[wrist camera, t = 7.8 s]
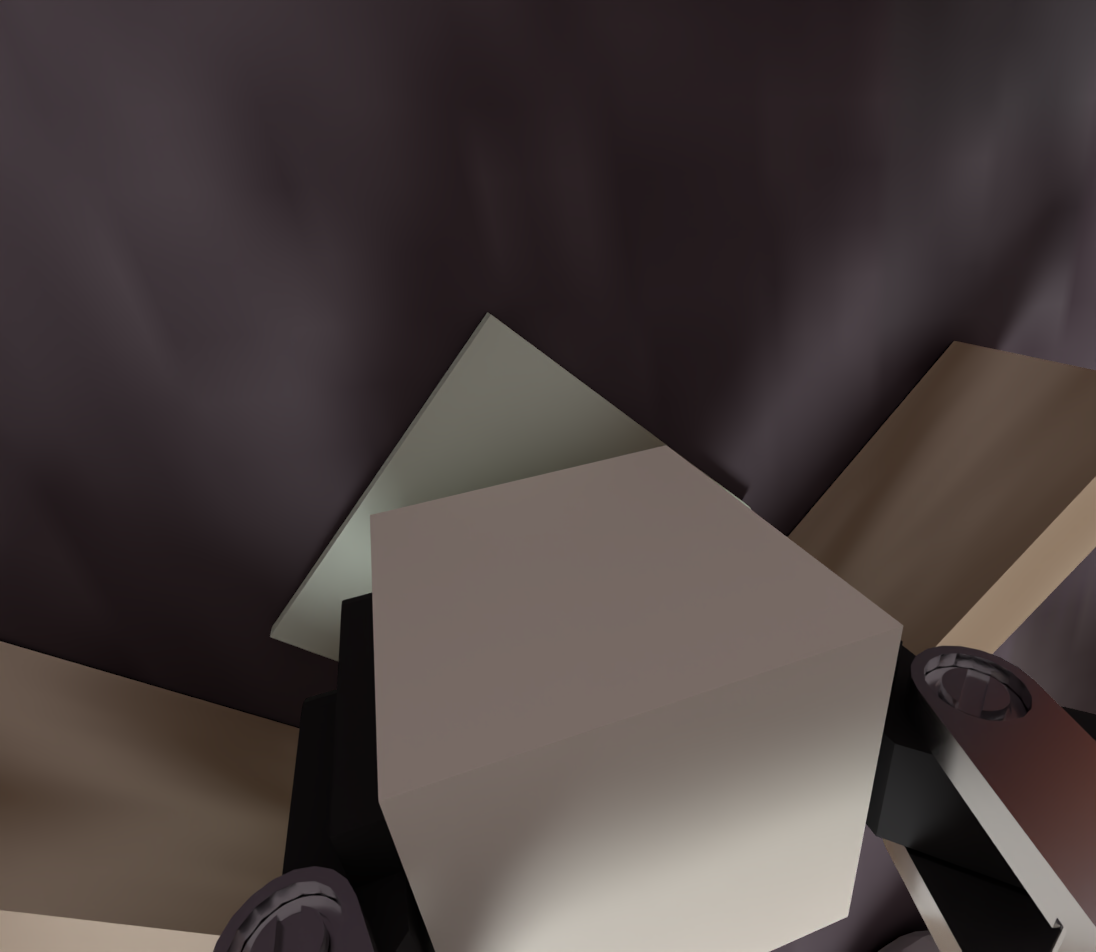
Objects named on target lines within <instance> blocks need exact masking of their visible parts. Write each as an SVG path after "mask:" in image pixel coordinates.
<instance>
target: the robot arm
mask: <svg viewBox="0 0 1096 952" xmlns="http://www.w3.org/2000/svg"><path fill="white" fill-rule="evenodd" d="M902 643H903V641H902V640H901V641H900V646H899V651H898V656H897V662H896V667H895V672H894V677H893V682H892V688H891V693H890V698H889V703H888V709H887V714H886V719H885V724H884V730H883V735H882V740H881V745H880V751H879V756H878V761H877V766H876V771H875V777H874V782H873V787H872V792H871V798H870V803H869V808H868V813H867V819H866V824H867V825H868V827H869V828H870V829H871V830H872V831H873V833H874V834H875V835H876V836H878V837H880V838H882V839H883V842H884V844H885V847H886V849H887V851H888V853H889V854H890V856H891V858H892V860H893V862H894V864H895V866H896V868H897V870H898V872H899V874H900V876H901V878H902V879H903V881H904V883H905V885H906V887H907V889H908V891H909V893H910V895H911V897H912V899H913V901H914V903H915V904H916V906H917V908H918V910H919V912H920V914H921V916H922V918H923V920H924V922H925V924H926V926H927V928H928V929H929V931H930V933H931V935H932V937H933V939H934V941H935V943H936V945H937V947H938V949H939V951H940V952H1096V715H1095V714H1091V713H1087V712H1083V711H1079V710H1074V709H1070V708H1066V707H1062V706H1060V705H1059V704H1058V703H1057V702H1056V701H1055V700H1054V699H1053V698H1052V697H1051V696H1050V695H1049V694H1048V693H1047V692H1046V691H1045V690H1044V689H1043V688H1042V687H1041V686H1040V685H1039V684H1038V683H1037V682H1036V681H1035V680H1034V679H1033V678H1031V677H1030V676H1029V675H1028V674H1026V673H1025V672H1024V671H1023V670H1021V669H1020V668H1019V667H1017V666H1015V665H1014V664H1012V663H1010V662H1008V661H1006V660H1004V659H1003V658H1001V657H998V656H996V655H993V654H990V653H987V652H985V651H982V650H978V649H973V648H968V647H963V646H938V647H933V648H929V649H926V650H924V651H923V652H921V653H919V654H918V655H916V656H915V655H914V654H913V653H912V652H910V651H909V650H908V649H907V648H905V647H904V646H903V645H902ZM213 952H435V950H434V947H433V944H432V942H431V939H430V936H429V934H428V931H427V928H426V926H425V923H424V921H423V918H422V915H421V913H420V910H419V907H418V905H417V902H416V899H415V897H414V894H413V891H412V889H411V886H410V883H409V881H408V878H407V876H406V873H405V870H404V868H403V865H402V862H401V860H400V857H399V854H398V852H397V849H396V846H395V844H394V841H393V838H392V836H391V833H390V831H389V828H388V825H387V823H386V820H385V817H384V815H383V812H382V809H381V807H380V804H379V801H378V770H377V736H376V703H375V669H374V635H373V601H372V593H368V594H364V595H361V596H357V597H353V598H349V599H345V600H343V601H342V604H341V622H340V642H339V662H338V682H337V690H333V691H330V692H327V693H323V694H320V695H316V696H313V697H309V698H306V700H305V701H304V703H303V707H302V712H301V721H300V729H299V738H298V746H297V754H296V763H295V771H294V779H293V788H292V796H291V804H290V813H289V821H288V829H287V838H286V846H285V854H284V863H283V871H282V876H280V877H277V878H275V879H273V880H272V881H270V882H269V883H268V884H266V885H265V886H264V887H262V888H261V889H260V890H258V891H257V892H256V893H254V894H253V895H252V896H251V897H250V898H249V899H248V900H247V901H246V902H245V903H244V904H243V905H242V906H241V908H240V909H239V910H238V911H237V912H236V913H235V914H234V915H233V916H232V918H231V919H230V921H229V922H228V924H227V926H226V927H225V929H224V931H223V932H222V934H221V935H220V937H219V939H218V940H217V942H216V945H215V947H214V950H213Z"/></svg>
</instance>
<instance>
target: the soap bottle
mask: <svg viewBox="0 0 1096 952" xmlns="http://www.w3.org/2000/svg"><path fill="white" fill-rule="evenodd" d="M878 952H940V951H939V949H938V947H937V945H936V943H935V941H934V939H933V937H932V935H931V933H930V931H929V930H927V931H915V932H912V933H909V934H906V935H903V936H901V937H899V938H897V939H896V940H894V941H893V942H891V943H890V944H888V945H887V946H885V947H883V948H882V949H880V950H879V951H878Z"/></svg>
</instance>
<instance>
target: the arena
mask: <svg viewBox="0 0 1096 952" xmlns="http://www.w3.org/2000/svg"><path fill="white" fill-rule="evenodd" d="M665 445H666V444H665V443H663V442H662V441H661V440H659V439H658V438H657V437H655V436H654V435H653V434H651V433H650V432H648V431H647V430H646V429H644V428H643V427H642V426H640V425H639V424H638V423H636V422H635V421H634V420H632V419H631V418H630V417H628V416H627V415H626V414H624V413H623V412H622V411H620V410H619V409H618V408H616V407H615V406H614V405H612V404H611V403H609V402H608V401H607V400H605V399H604V398H603V397H601V396H600V395H599V394H597V393H596V392H595V391H593V390H592V389H591V388H589V387H588V386H587V385H585V384H584V383H583V382H581V381H580V380H579V379H577V378H576V377H574V376H573V375H572V374H570V373H569V372H568V371H566V370H565V369H564V368H562V367H561V366H560V365H558V364H557V363H556V362H554V361H553V360H552V359H550V358H549V357H548V356H546V355H545V354H544V353H542V352H541V351H539V350H538V349H537V348H535V347H534V346H533V345H531V344H530V343H529V342H527V341H526V340H525V339H523V338H522V337H521V336H519V335H518V334H517V333H515V332H514V331H513V330H511V329H510V328H509V327H507V326H506V325H505V324H503V323H502V322H500V321H499V320H498V319H496V318H495V317H494V316H492V315H491V314H490V313H488V312H487V313H486V315H485V316H484V318H483V319H482V321H481V322H480V324H479V325H478V327H477V328H476V329H475V331H474V332H473V334H472V335H471V337H470V338H469V340H468V341H467V343H466V344H465V346H464V347H463V349H462V350H461V351H460V353H459V354H458V356H457V357H456V359H455V360H454V362H453V363H452V365H451V366H450V368H449V369H448V370H447V372H446V373H445V375H444V376H443V378H442V379H441V381H440V382H439V384H438V385H437V387H436V388H435V389H434V391H433V392H432V394H431V395H430V397H429V398H428V400H427V401H426V403H425V404H424V406H423V407H422V408H421V410H420V411H419V413H418V414H417V416H416V417H415V419H414V420H413V422H412V423H411V425H410V426H409V427H408V429H407V430H406V432H405V433H404V435H403V436H402V438H401V439H400V441H399V442H398V444H397V445H396V446H395V448H394V449H393V451H392V452H391V454H390V455H389V457H388V458H387V460H386V461H385V463H384V464H383V465H382V467H381V468H380V470H379V471H378V473H377V474H376V476H375V477H374V479H373V480H372V482H371V483H370V484H369V486H368V487H367V489H366V490H365V492H364V493H363V495H362V496H361V498H360V499H359V501H358V502H357V503H356V505H355V506H354V508H353V509H352V511H351V512H350V514H349V515H348V517H347V518H346V520H345V521H344V522H343V524H342V525H341V527H340V528H339V530H338V531H337V533H336V534H335V536H334V537H333V539H332V540H331V541H330V543H329V544H328V546H327V547H326V549H325V550H324V552H323V553H322V555H321V556H320V558H319V559H318V560H317V562H316V563H315V565H314V566H313V568H312V569H311V571H310V572H309V574H308V575H307V577H306V578H305V579H304V581H303V582H302V584H301V585H300V587H299V588H298V590H297V591H296V593H295V594H294V596H293V597H292V598H291V600H290V601H289V603H288V604H287V606H286V607H285V609H284V610H283V612H282V613H281V615H280V616H279V617H278V619H277V620H276V622H275V623H274V625H273V626H272V630H271V634H270V637H271V638H274V639H277V640H280V641H282V642H285V643H288V644H291V645H294V646H296V647H299V648H302V649H305V650H308V651H310V652H313V653H316V654H319V655H322V656H324V657H327V658H330V659H333V660H336V661H338V662H339V642H340V622H341V604H342V601H343V600H345V599H349V598H353V597H357V596H361V595H364V594H368V593H372V568H371V534H370V515H372V514H377V513H381V512H385V511H389V510H393V509H398V508H402V507H406V506H410V505H415V504H419V503H423V502H427V501H432V500H436V499H440V498H444V497H449V496H453V495H457V494H461V493H466V492H470V491H474V490H478V489H483V488H487V487H491V486H495V485H500V484H504V483H508V482H512V481H516V480H521V479H525V478H529V477H533V476H538V475H542V474H546V473H550V472H555V471H559V470H563V469H567V468H572V467H576V466H580V465H584V464H589V463H593V462H597V461H601V460H606V459H610V458H614V457H618V456H623V455H627V454H631V453H635V452H639V451H644V450H648V449H652V448H656V447H661V446H665ZM668 447H669V446H668ZM669 448H670V447H669ZM672 450H673V449H672ZM673 451H674V450H673ZM676 453H677V452H676ZM677 454H678V453H677ZM678 455H679V454H678ZM680 456H681V455H680ZM681 457H682V456H681ZM682 458H683V457H682ZM684 459H685V458H684ZM685 460H686V459H685ZM686 461H688V460H686ZM688 462H689V461H688ZM689 463H690V462H689ZM690 464H692V463H690ZM692 465H693V464H692ZM693 466H694V465H693ZM694 467H696V466H694ZM696 468H697V467H696ZM697 469H698V468H697ZM698 470H700V469H698ZM700 471H701V470H700ZM701 472H702V471H701ZM702 473H703V474H705V473H704V472H702ZM705 475H706V474H705ZM706 476H707V477H709V476H708V475H706ZM709 478H710V477H709ZM710 479H711V480H713V479H712V478H710ZM713 481H714V480H713ZM714 482H715V483H717V482H716V481H714ZM717 484H718V483H717ZM718 485H719V486H721V485H720V484H718ZM721 487H722V486H721ZM722 488H723V489H724V490H726V491H727V492H728V493H730V494H731V495H732V496H734V497H735V498H736V499H738V500H739V501H740V502H742V503H743V504H744V505H746V506H747V507H748V508H749V509H751V507H749V506H748V505H747V504H745V503H744V502H743V501H741V500H740V499H739V498H737V497H736V496H735V495H733V494H732V493H731V492H729V491H728V490H727V489H725V488H724V487H722ZM788 538H789V539H790V540H792V541H793V542H794V543H796V544H797V545H798V546H799V547H801V548H802V549H803V550H805V551H806V552H807V553H809V554H810V555H811V556H813V557H814V558H815V559H817V560H818V561H819V562H821V563H822V564H823V565H824V566H826V567H827V568H828V569H830V570H831V571H832V572H834V573H835V574H836V575H838V576H839V577H840V578H842V579H843V580H844V581H846V582H847V583H848V584H849V585H851V586H852V587H853V588H855V589H856V590H857V591H859V592H860V593H861V594H863V595H864V596H865V597H867V598H868V599H869V600H871V601H872V602H873V603H874V604H876V605H877V606H878V607H880V608H881V609H882V610H884V611H885V612H886V613H888V614H889V615H890V616H892V617H893V618H894V619H896V620H897V621H898V622H899V623H901V624H902V625H903V630H902V635H901V640H902V641H903V643H902V645H903V646H904V647H905V648H907V649H908V650H909V651H910V652H912V653H913V654H914V655H915V656H916V655H918V654H919V653H921V652H923V651H924V650H926V649H929V648H933V647H938V646H963V647H968V648H973V649H978V650H982V651H985V652H987V653H990V654H993V653H994V652H995V651H996V650H997V649H998V648H999V647H1000V645H1001V644H1002V643H1003V642H1004V641H1005V640H1006V639H1007V638H1008V637H1009V636H1010V635H1011V634H1012V633H1013V632H1014V631H1015V630H1016V629H1017V628H1018V627H1019V626H1020V625H1021V624H1022V623H1023V622H1024V621H1025V620H1026V619H1027V617H1028V616H1029V615H1030V614H1031V613H1032V612H1033V611H1034V610H1035V609H1036V608H1037V607H1038V606H1039V605H1040V604H1041V603H1042V602H1043V601H1044V600H1045V599H1046V598H1047V597H1048V596H1049V595H1050V594H1051V593H1052V592H1053V591H1054V589H1055V588H1056V587H1057V586H1058V585H1059V584H1060V583H1061V582H1062V581H1063V580H1064V579H1065V578H1066V577H1067V576H1068V575H1069V574H1070V573H1071V572H1072V571H1073V570H1074V569H1075V568H1076V567H1077V566H1078V565H1079V564H1080V563H1081V561H1082V560H1083V559H1084V558H1085V557H1086V556H1087V555H1088V554H1089V553H1090V552H1091V551H1092V550H1093V549H1094V548H1095V547H1096V370H1091V369H1086V368H1081V367H1077V366H1072V365H1067V364H1062V363H1058V362H1053V361H1048V360H1043V359H1039V358H1034V357H1029V356H1024V355H1020V354H1015V353H1010V352H1005V351H1001V350H996V349H991V348H986V347H982V346H977V345H972V344H967V343H963V342H958V341H954V342H953V343H952V344H951V345H950V346H949V348H948V349H947V350H946V351H945V352H944V353H943V355H942V356H941V357H940V358H939V359H938V360H937V362H936V363H935V364H934V365H933V366H932V368H931V369H930V370H929V371H928V372H927V373H926V375H925V376H924V377H923V378H922V379H921V381H920V382H919V383H918V384H917V385H916V386H915V388H914V389H913V390H912V391H911V392H910V393H909V395H908V396H907V397H906V398H905V399H904V401H903V402H902V403H901V404H900V405H899V406H898V408H897V409H896V410H895V411H894V412H893V413H892V415H891V416H890V417H889V418H888V419H887V421H886V422H885V423H884V424H883V425H882V426H881V428H880V429H879V430H878V431H877V432H876V434H875V435H874V436H873V437H872V438H871V439H870V441H869V442H868V443H867V444H866V445H865V446H864V448H863V449H862V450H861V451H860V452H859V454H858V455H857V456H856V457H855V458H854V459H853V461H852V462H851V463H850V464H849V465H848V466H847V468H846V469H845V470H844V471H843V472H842V474H841V475H840V476H839V477H838V478H837V479H836V481H835V482H834V483H833V484H832V485H831V487H830V488H829V489H828V490H827V491H826V492H825V494H824V495H823V496H822V497H821V498H820V499H819V501H818V502H817V503H816V504H815V505H814V507H813V508H812V509H811V510H810V511H809V512H808V514H807V515H806V516H805V517H804V518H803V519H802V521H801V522H800V523H799V524H798V525H797V527H796V528H795V529H794V530H793V531H792V532H791V534H790V535H789V536H788ZM299 729H300V728H296V727H293V726H289V725H286V724H282V723H279V722H276V721H272V720H269V719H265V718H262V717H258V716H255V715H252V714H248V713H245V712H241V711H238V710H234V709H231V708H228V707H224V706H221V705H217V704H214V703H210V702H207V701H204V700H200V699H197V698H193V697H190V696H186V695H183V694H180V693H176V692H173V691H169V690H166V689H162V688H159V687H156V686H152V685H149V684H145V683H142V682H138V681H135V680H132V679H128V678H125V677H121V676H118V675H114V674H111V673H108V672H104V671H101V670H97V669H94V668H90V667H87V666H84V665H80V664H77V663H73V662H70V661H66V660H63V659H60V658H56V657H53V656H49V655H46V654H42V653H39V652H36V651H32V650H29V649H25V648H22V647H18V646H15V645H12V644H8V643H5V642H1V641H0V952H213V950H214V947H215V945H216V942H217V940H218V939H219V937H220V935H221V934H222V932H223V931H224V929H225V927H226V926H227V924H228V922H229V921H230V919H231V918H232V916H233V915H234V914H235V913H236V912H237V911H238V910H239V909H240V908H241V906H242V905H243V904H244V903H245V902H246V901H247V900H248V899H249V898H250V897H251V896H252V895H253V894H254V893H256V892H257V891H258V890H260V889H261V888H262V887H264V886H265V885H266V884H268V883H269V882H270V881H272V880H273V879H275V878H277V877H280V876H282V871H283V863H284V854H285V846H286V838H287V829H288V821H289V813H290V804H291V796H292V788H293V779H294V771H295V763H296V754H297V746H298V738H299Z"/></svg>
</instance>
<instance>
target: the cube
mask: <svg viewBox="0 0 1096 952" xmlns="http://www.w3.org/2000/svg"><path fill="white" fill-rule="evenodd" d="M370 534H371V568H372V601H373V635H374V669H375V703H376V736H377V770H378V801H379V804H380V807H381V809H382V812H383V815H384V817H385V820H386V823H387V825H388V828H389V831H390V833H391V836H392V838H393V841H394V844H395V846H396V849H397V852H398V854H399V857H400V860H401V862H402V865H403V868H404V870H405V873H406V876H407V878H408V881H409V883H410V886H411V889H412V891H413V894H414V897H415V899H416V902H417V905H418V907H419V910H420V913H421V915H422V918H423V921H424V923H425V926H426V928H427V931H428V934H429V936H430V939H431V942H432V944H433V947H434V950H435V952H770V951H772V950H774V949H776V948H778V947H781V946H783V945H785V944H787V943H790V942H792V941H794V940H796V939H799V938H801V937H803V936H805V935H808V934H810V933H812V932H814V931H817V930H819V929H821V928H823V927H826V926H828V925H830V924H832V923H834V922H837V921H839V920H841V919H843V918H846V917H848V913H849V908H850V902H851V897H852V892H853V887H854V881H855V876H856V871H857V866H858V861H859V855H860V850H861V845H862V840H863V834H864V829H865V824H866V819H867V813H868V808H869V803H870V798H871V792H872V787H873V782H874V777H875V771H876V766H877V761H878V756H879V751H880V745H881V740H882V735H883V730H884V724H885V719H886V714H887V709H888V703H889V698H890V693H891V688H892V682H893V677H894V672H895V667H896V662H897V656H898V651H899V646H900V641H901V635H902V630H903V625H902V624H901V623H899V622H898V621H897V620H896V619H894V618H893V617H892V616H890V615H889V614H888V613H886V612H885V611H884V610H882V609H881V608H880V607H878V606H877V605H876V604H874V603H873V602H872V601H871V600H869V599H868V598H867V597H865V596H864V595H863V594H861V593H860V592H859V591H857V590H856V589H855V588H853V587H852V586H851V585H849V584H848V583H847V582H846V581H844V580H843V579H842V578H840V577H839V576H838V575H836V574H835V573H834V572H832V571H831V570H830V569H828V568H827V567H826V566H824V565H823V564H822V563H821V562H819V561H818V560H817V559H815V558H814V557H813V556H811V555H810V554H809V553H807V552H806V551H805V550H803V549H802V548H801V547H799V546H798V545H797V544H796V543H794V542H793V541H792V540H790V539H789V538H788V537H786V536H785V535H784V534H782V533H781V532H780V531H778V530H777V529H776V528H774V527H773V526H772V525H771V524H769V523H768V522H767V521H765V520H764V519H763V518H761V517H760V516H759V515H757V514H756V513H755V512H753V511H752V510H751V509H749V508H748V507H747V506H746V505H744V504H743V503H742V502H740V501H739V500H738V499H736V498H735V497H734V496H732V495H731V494H730V493H728V492H727V491H726V490H724V489H723V488H722V487H721V486H719V485H718V484H717V483H715V482H714V481H713V480H711V479H710V478H709V477H707V476H706V475H705V474H703V473H702V472H701V471H700V470H698V469H697V468H696V467H694V466H693V465H692V464H690V463H689V462H688V461H686V460H685V459H684V458H682V457H681V456H680V455H678V454H677V453H676V452H675V451H673V450H672V449H671V448H669V447H668V446H667V445H665V446H661V447H656V448H652V449H648V450H644V451H639V452H635V453H631V454H627V455H623V456H618V457H614V458H610V459H606V460H601V461H597V462H593V463H589V464H584V465H580V466H576V467H572V468H567V469H563V470H559V471H555V472H550V473H546V474H542V475H538V476H533V477H529V478H525V479H521V480H516V481H512V482H508V483H504V484H500V485H495V486H491V487H487V488H483V489H478V490H474V491H470V492H466V493H461V494H457V495H453V496H449V497H444V498H440V499H436V500H432V501H427V502H423V503H419V504H415V505H410V506H406V507H402V508H398V509H393V510H389V511H385V512H381V513H377V514H372V515H370Z"/></svg>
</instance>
